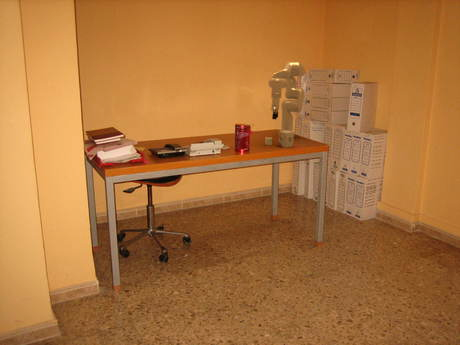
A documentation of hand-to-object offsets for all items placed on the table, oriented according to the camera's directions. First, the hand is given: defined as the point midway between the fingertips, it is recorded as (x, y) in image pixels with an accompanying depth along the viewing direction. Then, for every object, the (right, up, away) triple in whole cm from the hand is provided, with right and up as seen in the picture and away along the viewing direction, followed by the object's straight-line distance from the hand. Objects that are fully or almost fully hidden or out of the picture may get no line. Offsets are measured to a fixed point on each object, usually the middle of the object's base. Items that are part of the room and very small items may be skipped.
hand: (275, 118), depth 333 cm
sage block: (-4, -19, +10) cm, 22 cm away
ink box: (+9, -21, +4) cm, 23 cm away
